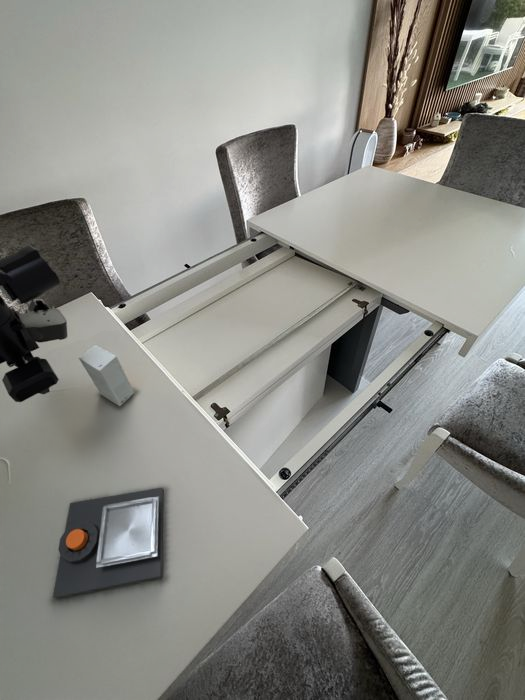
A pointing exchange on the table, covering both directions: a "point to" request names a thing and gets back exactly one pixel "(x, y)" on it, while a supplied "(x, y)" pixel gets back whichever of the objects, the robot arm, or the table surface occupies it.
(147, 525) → the brushed steel platform
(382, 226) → the table surface
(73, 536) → the button
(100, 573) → the scale
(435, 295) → the table surface
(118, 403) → the cosmetic box
